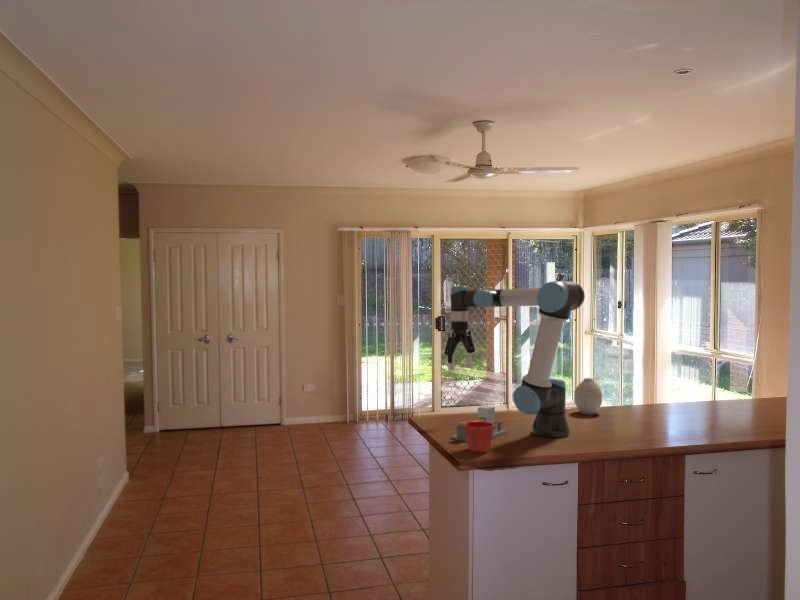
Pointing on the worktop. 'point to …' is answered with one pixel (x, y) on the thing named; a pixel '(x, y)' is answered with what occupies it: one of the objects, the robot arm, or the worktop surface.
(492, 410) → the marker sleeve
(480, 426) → the flower pot
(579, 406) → the vase
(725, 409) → the worktop surface
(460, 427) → the cable comb
